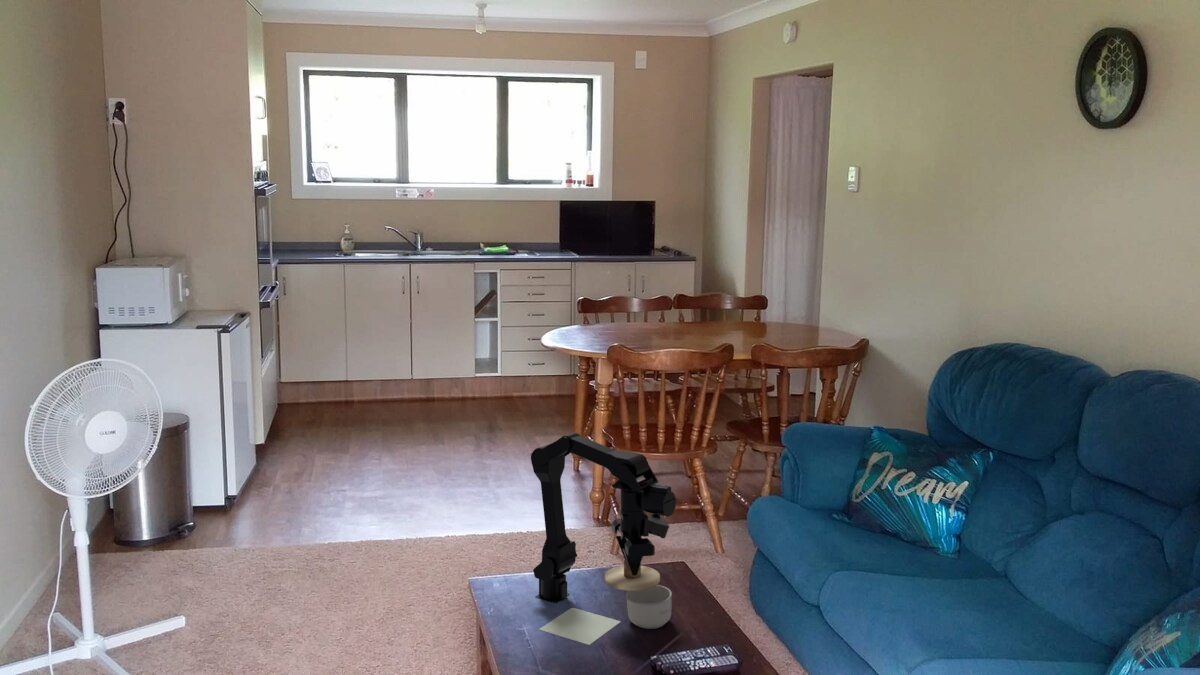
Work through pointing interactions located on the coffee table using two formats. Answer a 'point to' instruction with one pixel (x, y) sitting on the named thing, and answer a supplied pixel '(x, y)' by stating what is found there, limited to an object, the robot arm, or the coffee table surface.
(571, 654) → the coffee table surface
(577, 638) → the sage mat
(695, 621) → the coffee table surface
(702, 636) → the coffee table surface
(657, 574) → the oak lid
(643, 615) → the teacup
